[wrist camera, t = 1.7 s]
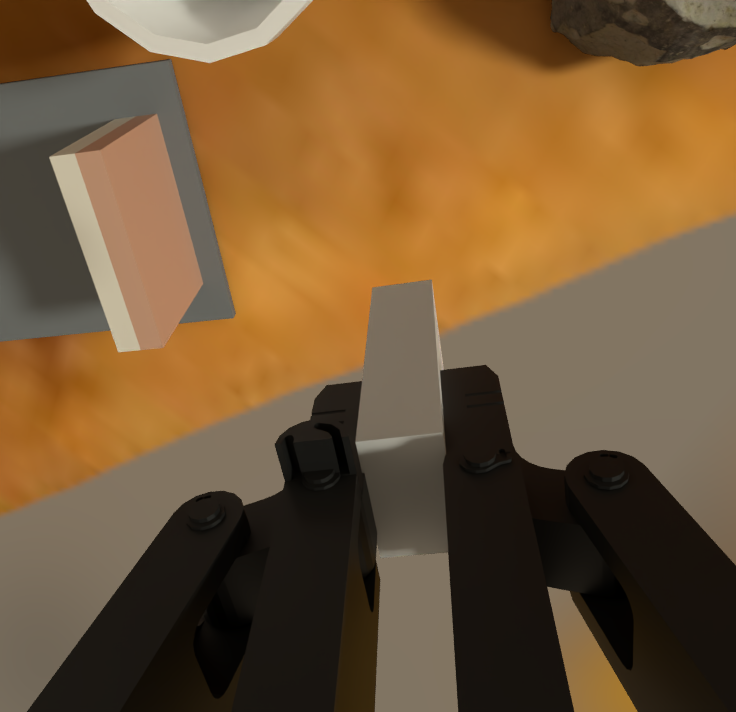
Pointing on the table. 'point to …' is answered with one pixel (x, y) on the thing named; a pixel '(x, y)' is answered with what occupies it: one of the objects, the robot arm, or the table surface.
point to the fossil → (646, 28)
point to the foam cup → (200, 24)
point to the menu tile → (131, 228)
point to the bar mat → (48, 208)
